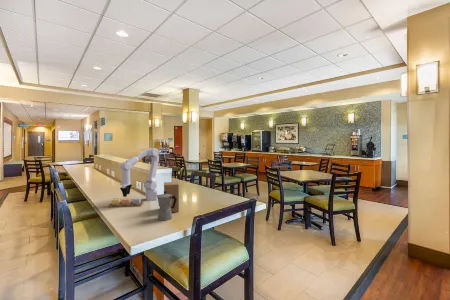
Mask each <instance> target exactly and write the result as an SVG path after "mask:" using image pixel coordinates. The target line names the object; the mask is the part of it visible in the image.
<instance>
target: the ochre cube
mask: <svg viewBox="0 0 450 300" xmlns="http://www.w3.org/2000/svg"><path fill="white" fill-rule="evenodd" d="M121 202H122V198H120V197H118V198H116V197H115V198H113V199H111V203H112V205H115V204H120V203H121Z"/></svg>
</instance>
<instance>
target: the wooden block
mask: <svg viewBox="0 0 450 300" xmlns="http://www.w3.org/2000/svg"><path fill="white" fill-rule="evenodd" d="M179 184H180V183H179V182H178V181H168V182H166V181H165V182H164V183H163V192H164V191H166V194H171V195H172V196H175V197H176V198H177V200H176V203H175V207H174V208H171V207H173V203H174V199H172V200H171V205H170V208H171V213H172V214H173V213H179V212H180V205H179V204H180V198H179V196H180V194H179V193H180V187H179V186H180V185H179Z"/></svg>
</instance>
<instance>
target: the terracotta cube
mask: <svg viewBox="0 0 450 300" xmlns="http://www.w3.org/2000/svg"><path fill="white" fill-rule="evenodd" d="M131 198H132V197H123V198H121V202H122V204H130V203H131V201H132V200H131Z"/></svg>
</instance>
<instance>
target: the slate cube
mask: <svg viewBox="0 0 450 300" xmlns="http://www.w3.org/2000/svg"><path fill="white" fill-rule="evenodd" d="M131 201H132V204H140V203H141V201H142V200H141V197H133V198H132V200H131Z"/></svg>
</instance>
